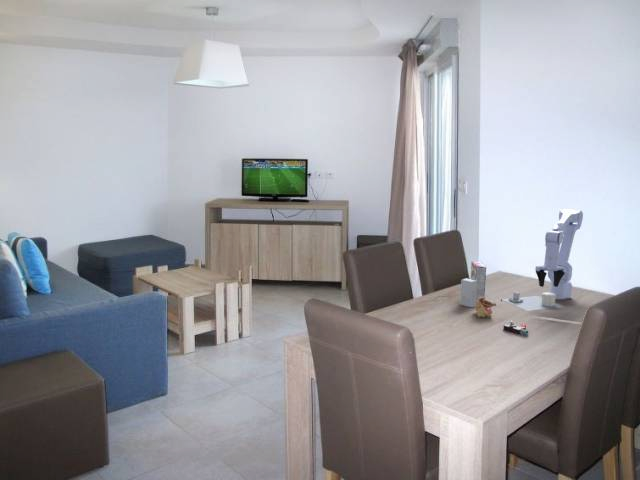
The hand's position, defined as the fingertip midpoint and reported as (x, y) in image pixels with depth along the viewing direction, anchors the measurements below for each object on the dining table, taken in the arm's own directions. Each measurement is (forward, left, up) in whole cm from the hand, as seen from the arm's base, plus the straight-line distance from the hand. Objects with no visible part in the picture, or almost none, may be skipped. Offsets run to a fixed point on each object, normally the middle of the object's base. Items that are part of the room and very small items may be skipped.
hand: (548, 286), depth 281 cm
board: (+5, -4, -10) cm, 11 cm away
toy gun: (+34, +25, -10) cm, 43 cm away
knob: (0, 0, -9) cm, 9 cm away
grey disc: (+11, -9, -10) cm, 17 cm away
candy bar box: (+23, -23, -10) cm, 34 cm away
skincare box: (+35, -12, -10) cm, 38 cm away
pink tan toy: (+37, +3, -10) cm, 38 cm away
